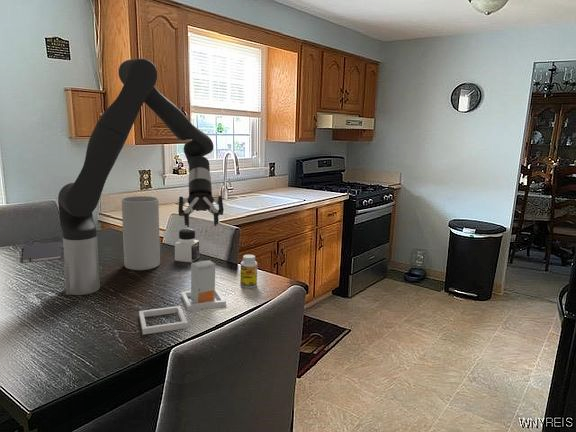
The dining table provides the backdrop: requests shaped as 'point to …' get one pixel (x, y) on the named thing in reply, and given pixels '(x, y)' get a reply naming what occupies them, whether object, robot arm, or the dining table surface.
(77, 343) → the dining table surface
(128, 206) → the cylinder vase
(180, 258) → the medicine bottle
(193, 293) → the skincare box
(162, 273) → the dining table surface
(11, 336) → the dining table surface
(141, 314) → the frame
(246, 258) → the supplement bottle
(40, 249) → the notebook
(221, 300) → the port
